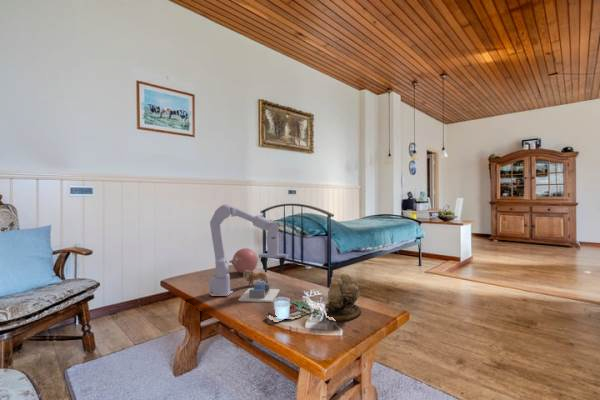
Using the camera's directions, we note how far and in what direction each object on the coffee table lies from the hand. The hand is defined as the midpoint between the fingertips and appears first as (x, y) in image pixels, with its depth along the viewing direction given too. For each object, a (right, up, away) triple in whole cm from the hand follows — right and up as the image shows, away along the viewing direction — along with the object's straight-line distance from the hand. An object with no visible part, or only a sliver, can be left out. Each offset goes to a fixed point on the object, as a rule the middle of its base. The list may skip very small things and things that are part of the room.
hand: (273, 272), depth 153 cm
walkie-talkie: (+10, -11, -31) cm, 34 cm away
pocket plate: (-6, -10, -7) cm, 13 cm away
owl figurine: (+31, -10, -30) cm, 45 cm away
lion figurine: (-10, -10, +9) cm, 17 cm away
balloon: (-22, -9, +32) cm, 40 cm away
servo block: (-6, -9, -7) cm, 13 cm away
